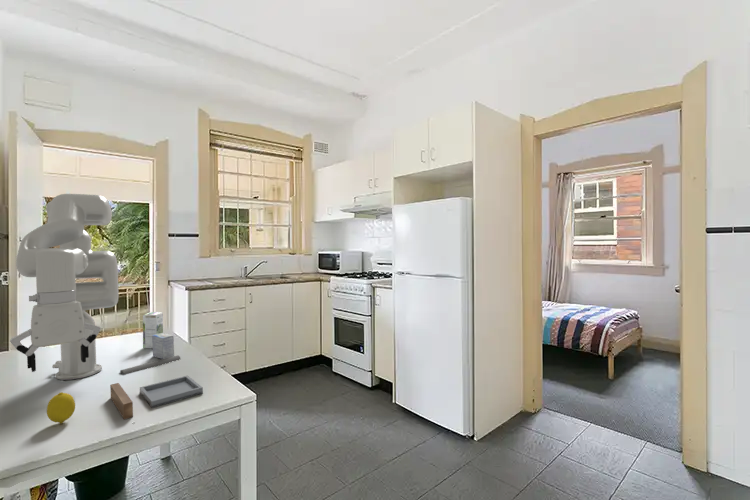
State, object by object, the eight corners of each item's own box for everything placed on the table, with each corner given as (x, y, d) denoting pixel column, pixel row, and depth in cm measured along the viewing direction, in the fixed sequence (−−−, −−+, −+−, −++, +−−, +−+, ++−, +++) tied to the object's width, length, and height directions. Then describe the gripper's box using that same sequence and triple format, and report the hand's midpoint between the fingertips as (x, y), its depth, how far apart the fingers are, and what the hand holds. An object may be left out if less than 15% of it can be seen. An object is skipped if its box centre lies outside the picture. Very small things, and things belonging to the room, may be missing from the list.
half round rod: (181, 360, 144) (181, 356, 144) (124, 376, 128) (124, 371, 128) (176, 358, 146) (175, 354, 146) (119, 373, 130) (119, 368, 130)
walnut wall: (124, 419, 97) (123, 404, 97) (110, 398, 110) (110, 384, 109) (133, 416, 98) (132, 401, 98) (118, 396, 111) (118, 382, 111)
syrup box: (149, 344, 164) (148, 312, 163) (163, 344, 164) (163, 311, 164) (142, 348, 158) (141, 314, 157) (157, 348, 158) (156, 314, 158)
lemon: (59, 429, 92) (58, 398, 91) (41, 427, 93) (40, 396, 92) (81, 419, 97) (80, 388, 97) (64, 417, 98) (62, 387, 98)
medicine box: (174, 356, 147) (174, 335, 147) (163, 360, 143) (162, 337, 143) (163, 353, 151) (163, 332, 151) (152, 356, 147) (151, 335, 147)
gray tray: (151, 407, 103) (151, 401, 103) (139, 393, 113) (139, 387, 113) (202, 393, 113) (202, 387, 113) (187, 380, 122) (187, 375, 122)
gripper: (8, 304, 85) (11, 378, 85) (101, 295, 97) (103, 360, 97) (8, 300, 90) (11, 370, 91) (97, 293, 102) (99, 354, 103)
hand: (59, 365), depth 94 cm, fingers open, 9 cm apart
